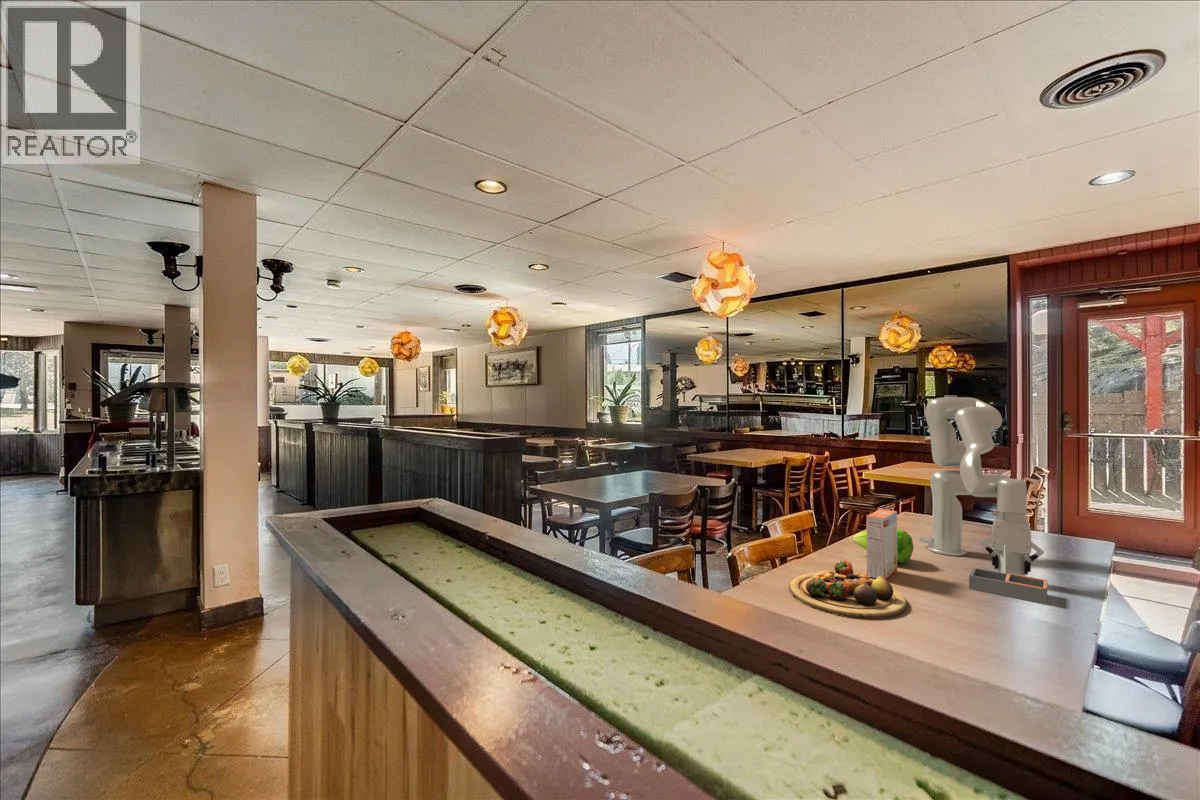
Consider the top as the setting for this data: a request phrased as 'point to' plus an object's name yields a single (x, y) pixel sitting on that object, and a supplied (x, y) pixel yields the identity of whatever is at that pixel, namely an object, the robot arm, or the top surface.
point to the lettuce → (903, 544)
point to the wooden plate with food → (848, 593)
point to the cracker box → (881, 543)
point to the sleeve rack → (1009, 585)
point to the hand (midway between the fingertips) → (1011, 570)
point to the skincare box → (1011, 562)
